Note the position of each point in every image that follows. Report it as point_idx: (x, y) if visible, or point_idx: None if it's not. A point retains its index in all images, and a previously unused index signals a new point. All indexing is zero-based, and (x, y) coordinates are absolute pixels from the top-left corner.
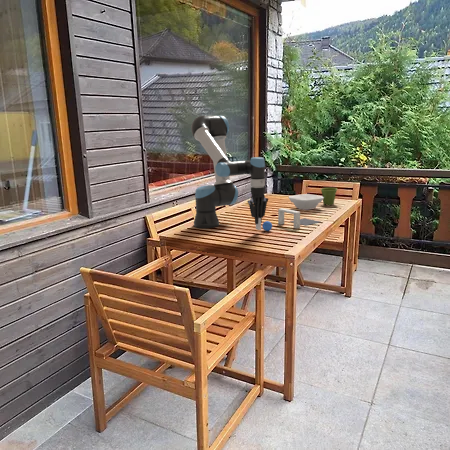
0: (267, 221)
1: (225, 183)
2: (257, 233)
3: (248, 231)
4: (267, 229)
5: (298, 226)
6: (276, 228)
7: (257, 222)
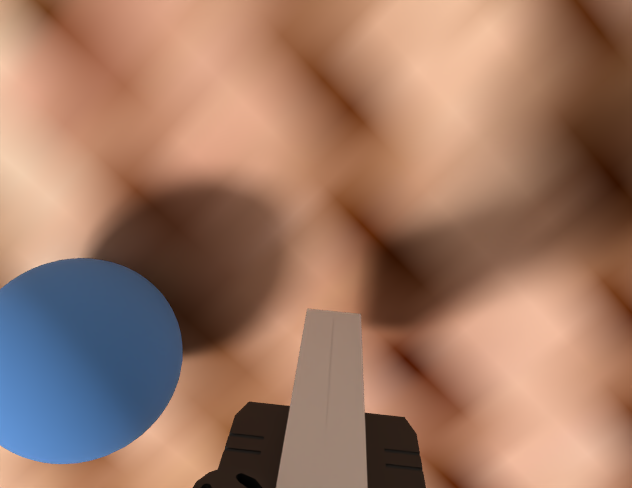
0: (29, 406)
1: None
2: (360, 313)
3: None
4: (148, 281)
5: None
6: None
7: (381, 440)
